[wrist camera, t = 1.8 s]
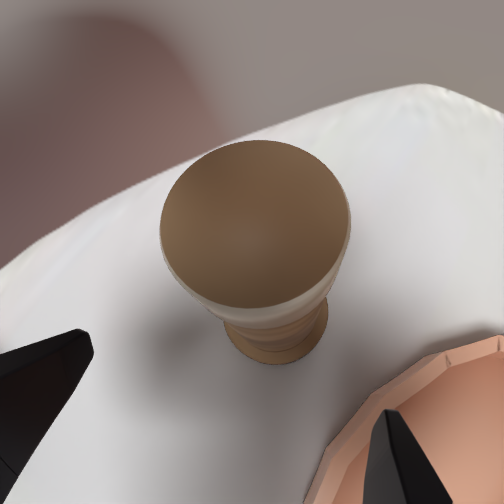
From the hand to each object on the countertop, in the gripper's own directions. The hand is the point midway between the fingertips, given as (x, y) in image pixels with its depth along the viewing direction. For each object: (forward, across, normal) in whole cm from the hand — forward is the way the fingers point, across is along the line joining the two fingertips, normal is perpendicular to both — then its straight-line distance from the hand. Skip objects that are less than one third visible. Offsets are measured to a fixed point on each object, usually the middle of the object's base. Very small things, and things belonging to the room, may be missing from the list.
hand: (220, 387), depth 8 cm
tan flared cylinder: (+11, 0, +5) cm, 12 cm away
